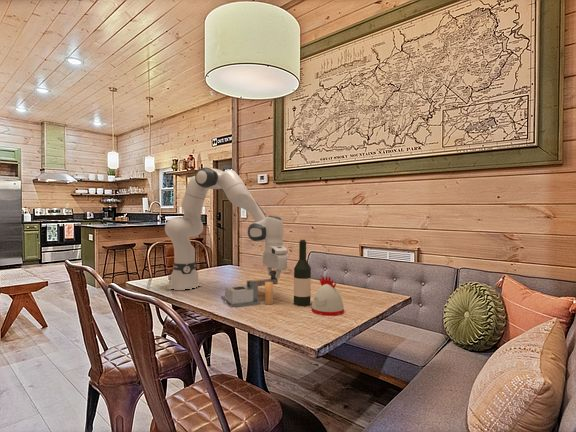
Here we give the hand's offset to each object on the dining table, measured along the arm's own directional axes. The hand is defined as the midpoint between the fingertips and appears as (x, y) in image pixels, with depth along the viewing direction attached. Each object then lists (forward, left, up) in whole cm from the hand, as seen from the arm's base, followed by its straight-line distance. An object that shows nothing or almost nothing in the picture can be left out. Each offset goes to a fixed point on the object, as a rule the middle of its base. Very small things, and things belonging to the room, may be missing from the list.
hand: (273, 276), depth 169 cm
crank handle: (0, -6, -3) cm, 7 cm away
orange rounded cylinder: (+7, -6, -11) cm, 14 cm away
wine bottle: (+14, +8, -11) cm, 20 cm away
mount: (-3, -16, -11) cm, 20 cm away
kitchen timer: (+29, +12, -11) cm, 33 cm away
